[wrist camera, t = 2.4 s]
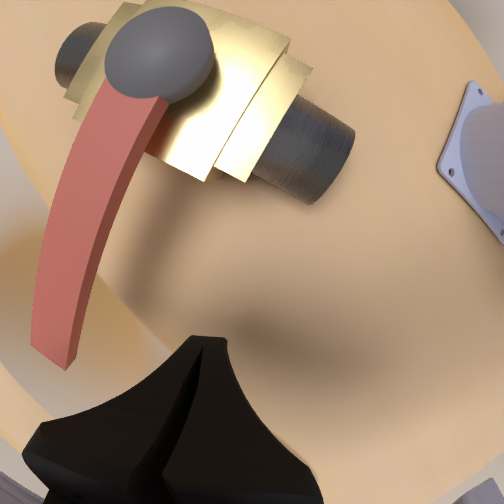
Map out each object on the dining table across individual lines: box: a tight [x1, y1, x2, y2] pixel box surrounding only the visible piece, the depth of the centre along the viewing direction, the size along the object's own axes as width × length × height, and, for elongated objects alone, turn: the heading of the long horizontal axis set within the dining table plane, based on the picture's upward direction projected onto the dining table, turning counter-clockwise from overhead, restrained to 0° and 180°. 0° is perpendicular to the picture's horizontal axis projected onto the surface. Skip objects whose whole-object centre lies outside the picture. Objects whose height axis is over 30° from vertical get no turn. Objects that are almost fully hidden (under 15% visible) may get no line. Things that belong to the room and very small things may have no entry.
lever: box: [31, 6, 215, 371], centre depth 8 cm, size 3×14×1 cm, turn 151°
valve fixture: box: [55, 0, 355, 205], centre depth 10 cm, size 14×6×6 cm, turn 61°
